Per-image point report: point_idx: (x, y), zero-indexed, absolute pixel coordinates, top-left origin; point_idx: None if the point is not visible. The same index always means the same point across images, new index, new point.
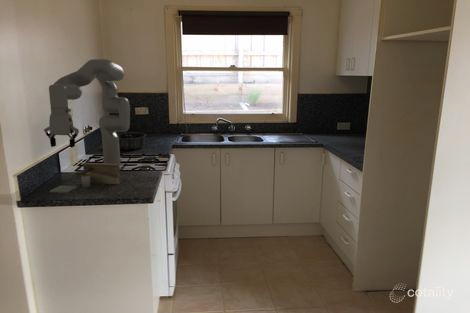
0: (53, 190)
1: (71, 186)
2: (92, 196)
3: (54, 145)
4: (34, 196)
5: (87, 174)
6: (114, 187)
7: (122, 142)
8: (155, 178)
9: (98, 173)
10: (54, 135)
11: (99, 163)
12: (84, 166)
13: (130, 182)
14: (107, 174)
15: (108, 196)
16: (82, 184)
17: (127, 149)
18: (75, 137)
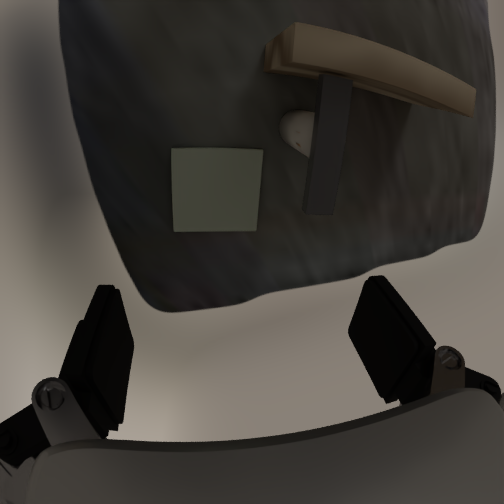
0: (187, 223)
1: (237, 157)
2: (360, 249)
3: (124, 321)
4: (153, 278)
5: None
6: (410, 146)
7: None
8: (489, 56)
9: (364, 83)
10: (91, 433)
11: (392, 53)
12: (296, 64)
13: None
14: (404, 96)
15: (404, 242)
16: (289, 144)
17: None
18: (455, 366)
